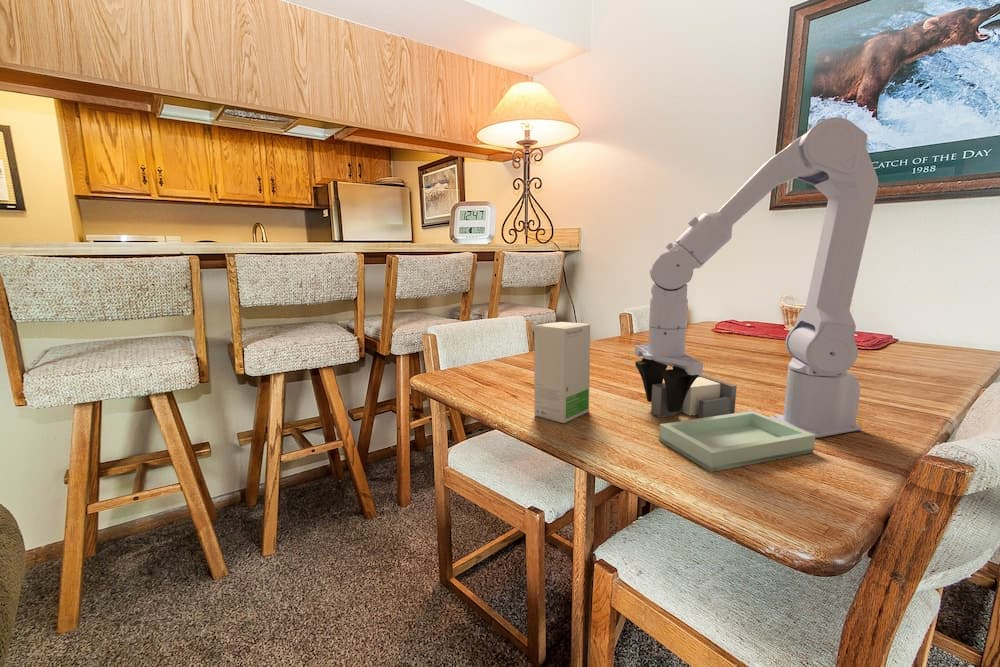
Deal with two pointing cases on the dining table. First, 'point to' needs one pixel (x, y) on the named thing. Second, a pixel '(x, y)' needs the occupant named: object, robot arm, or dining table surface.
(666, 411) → the joined block pair
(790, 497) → the dining table surface
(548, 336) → the skincare box
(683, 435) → the tray
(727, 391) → the bay
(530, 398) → the dining table surface
